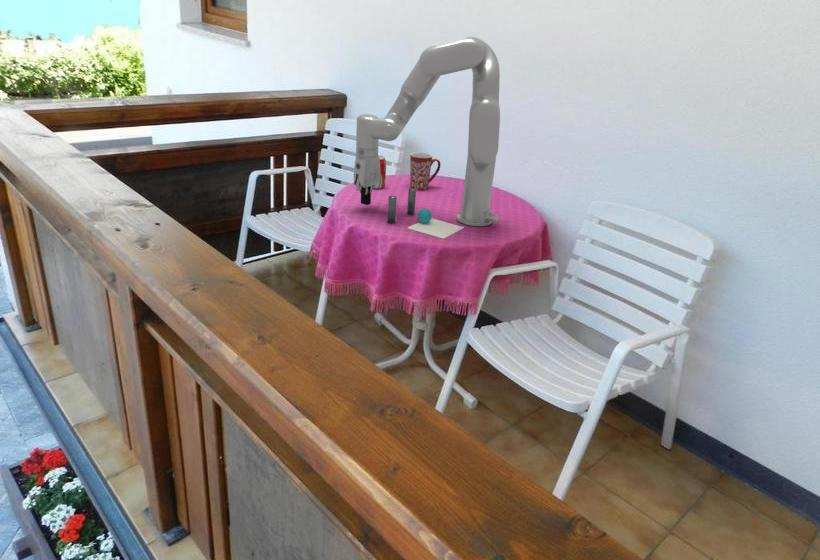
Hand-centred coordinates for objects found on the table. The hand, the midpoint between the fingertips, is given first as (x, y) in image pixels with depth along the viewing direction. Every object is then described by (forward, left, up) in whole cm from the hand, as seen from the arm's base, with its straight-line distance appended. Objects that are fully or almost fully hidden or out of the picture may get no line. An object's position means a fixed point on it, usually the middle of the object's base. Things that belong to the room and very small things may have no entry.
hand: (365, 203), depth 210 cm
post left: (-15, +5, -2) cm, 16 cm away
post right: (-15, -7, -2) cm, 16 cm away
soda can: (+13, -25, -2) cm, 28 cm away
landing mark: (-29, -1, -2) cm, 29 cm away
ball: (-23, -2, +1) cm, 23 cm away
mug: (-1, -38, -2) cm, 38 cm away
